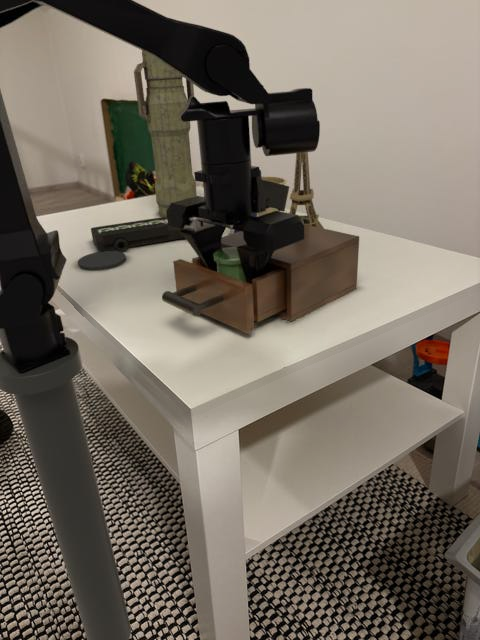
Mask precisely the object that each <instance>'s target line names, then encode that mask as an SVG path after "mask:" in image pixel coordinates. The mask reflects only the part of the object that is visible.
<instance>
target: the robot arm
mask: <svg viewBox="0 0 480 640" xmlns="http://www.w3.org/2000/svg"><path fill="white" fill-rule="evenodd" d="M44 6H45V7H48V8H51V9H53V10H54V11H55V10H56V11H58V12H60V13H62V14H64V15H66V16H68V17H70V18H72V19H75V20H76V21H78V22H81V23H83V24H85V25H87V26H89V27H92V28H93V29H96V30H98V31H99V32H103V33H104V34H106V35H109V36H111V37H113V38H115V39H117V40H119V41H121V42H123V43H126V44H128V45H129V46H132V47H134V48H136V49H139V50H140V51H142V50H143V51H145V52H147V53H149V54H151V55H153V56H155V57H156V58H158V59H159V60H161V61H162V62H163V63H165V64H166V65H168V66H169V67H170V68H172V69H173V70H174V71H176V72H177V73H178V74H180V75H181V76H183V78H184V79H185V80H186V79H187V80H188V81H190V82H191V83H193V86H195V87H197V88H198V89H200V90H201V91H202V92H205V93H208V94H211V95H214V96H218V97H227V96H230V97H231V98H233V99H235V100H236V101H238V102H242V103H246V104H249V105H254V107H253V108H243V109H241V108H240V109H231V108H230V104H229V103H228V101H227V100H221V101H208V102H200V101H199V100H198V99H197V97H196V96H195V95H194V96H191V97H190V98H189V101H188V103H187V105H186V107H185V108H184V109H183V110H182V111H181V112H180V113H179V118H180V119H181V120H182V121H183V122H188V121H190V122H196V126H197V136H198V146H199V156H200V166H201V167H200V168H201V170H196V171H194V172H193V174H194V179H195V182H200V183H202V187H203V196H201V195H197V196H195V197H192V198H188V199H184V200H180V201H177V202H173V203H171V204H170V206H169V208H168V209H167V211H166V213H167V220H168V226H172V227H176V228H179V229H181V228H184V229H182V230H180V234H181V235H183V236H184V237H185V238H184V239H185V240H186V241H187V243H188V244H189V246H190V247H191V248H192V249H193V251H194V253H195V254H196V256H197V257H199V258H200V260H201V261H202V263H203V264H204V266H205V268H207V269H210V270H213V271H216V272H217V267H216V262H215V261H214V259H213V254H214V252H216V251H217V250H220V249H222V247H221V238H222V237H223V236H224V234H225V231H226V229H229V230H230V229H234V230H238V231H242V232H243V237H244V241H245V242H246V244H243V245H240V246H237V251H238V255H239V258H240V261H241V265H242V268H243V272H244V275H245V279H246V282H247V283H250V284H252V279H255V278H257V277H260V276H262V275H265V272H266V269H267V266H268V263H269V261H270V259H271V256H272V254H273V252H274V251H275V250H278V249H281V248H283V247H286V246H288V245H291V244H293V243H296V242H298V241H301V240H304V221H303V220H302V219H301V218H300V217H299V216H300V215H299V214H290V212H285V211H286V206H287V202H288V201H287V200H288V197H289V196H288V195H289V191H290V186H289V185H286V184H284V185H282V184H278V183H274V182H270V181H265V180H262V178H261V176H262V170H261V169H260V166H256V165H252V153H251V136H252V141H253V146H254V147H255V149H260V148H261V149H262V152H263V154H264V156H265V157H273V156H274V157H275V156H283V155H295V154H296V153H304V152H308V153H313V152H315V151H316V150H317V148H318V146H319V141H320V133H321V122H320V120H318V113H317V112H318V111H317V107H316V104H315V102H314V100H313V89H312V88H311V87H300V88H299V87H298V88H295V89H291V90H288V91H277V92H268V90H266V88H265V86H264V85H263V84H262V83H261V81H259V79H258V78H257V76H256V75H255V74H254V72H253V71H252V70H251V64H250V57H249V54H248V50H247V48H246V45H245V44H244V43H243V41H242V40H240V39H239V38H238V37H236V36H235V35H234V34H232V33H229V32H224V31H222V30H218V29H214V28H211V27H207V26H204V25H200V24H197V23H190V22H186V21H183V20H178V19H175V18H172V17H167V16H165V15H163V14H161V13H159V12H157V11H155V10H153V9H151V8H149V7H147V6H145V5H143V4H141V3H139V2H137V1H135V0H0V29H2V28H4V27H6V26H9V25H11V24H13V23H15V22H17V21H18V20H20V19H21V18H23V17H25V16H27V15H28V14H30V13H32V12H33V11H35V10H37V9H39V8H42V7H44ZM250 117H251V132H250ZM250 133H251V134H252V135H251V134H250ZM269 207H271V208H276V209H278V210H279V211H280V212H279V211H274V212H271V213H268V214H265V215H262V216H258V217H253V213H256V212H257V213H260V212H264V211H266V208H269ZM238 221H239V222H238ZM66 263H67V258H66V256H65V255H64V254H63V251H62V249H61V244H60V234H59V231H58V230H56V229H55V230H52V231H49V232H47V231H46V230H45V229H44V227H43V226H42V224H41V223H40V221H39V220H38V217H37V214H36V211H35V207H34V204H33V201H32V197H31V193H30V190H29V186H28V183H27V179H26V175H25V171H24V168H23V165H22V162H21V158H20V154H19V151H18V146H17V144H16V140H15V137H14V132H13V129H12V126H11V122H10V119H9V115H8V112H7V107H6V103H5V100H4V98H3V94H2V90H1V89H0V342H1V343H0V344H1V346H2V350H4V352H2V353H1V357H2V358H3V359H4V360H5V361H6V362H7V363H8V364H10V365H11V366H12V367H13V368H14V369H15V370H16V371H17V372H18V373H20V374H23V373H26V372H28V371H31V370H33V369H36V368H38V367H41V366H43V365H45V364H48V363H50V362H53V361H55V360H58V359H60V358H63V357H65V356H68V355H69V354H70V350H69V349H67V348H66V347H65V346H64V345H66V343H67V342H66V338H65V337H66V334H65V332H64V331H65V330H64V324H63V321H62V316H61V315H60V314H58V313H57V312H56V308H55V306H54V305H53V304H51V303H50V302H51V300H52V299H53V297H54V295H55V293H56V290H57V288H58V285H59V283H60V280H61V277H62V274H63V271H64V268H65V265H66Z"/></svg>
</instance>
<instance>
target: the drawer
mask: <svg viewBox="0 0 480 640" xmlns="http://www.w3.org/2000/svg"><path fill="white" fill-rule="evenodd" d="M172 264H173V272H174V280H175V288H176V291H173V292H172V291H169V290H166V291H164V292H163V294H162V295H161V300H162V302H163V303H166V304H167V305H171V306H172V307H174V308H177V309H179V310H181V311H183V312H186V313H188V314H190V315H192V316H194V317H199V316H200V315H201V314H203V315H205V316H207V317H210V318H211V319H214V320H216V321H219V322H220V323H222V324H225V325H228V326H229V327H232V328H233V329H236V330H239V331H241V332H243V333H245V334H249V333H251V332H254V331H255V322H256V323H259V322H261V321H264V320H265V319H268V318H270V317H272V316H275V315H274V314H276V313H278V312H280V311H282V310H284V309H287V280H286V268H283V267H280V266H276V265H273V264H270V263H268V266H267V269H266V272H265V275H262V276H260V277H257V278H255V279H252V284H250V283H247V282H244V281H241V280H238V279H235V278H233V277H230V276H227V275H224V274H221V273H218V272H216V271H213V270H210V269H207V268H205V266H204V264H203V263H202V261H201V260H200V258H199V257H198V256H195V257H193V258H191V262H190V261H187V260H184V259H181V258H179V259H176V260H174V261H172Z"/></svg>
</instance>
